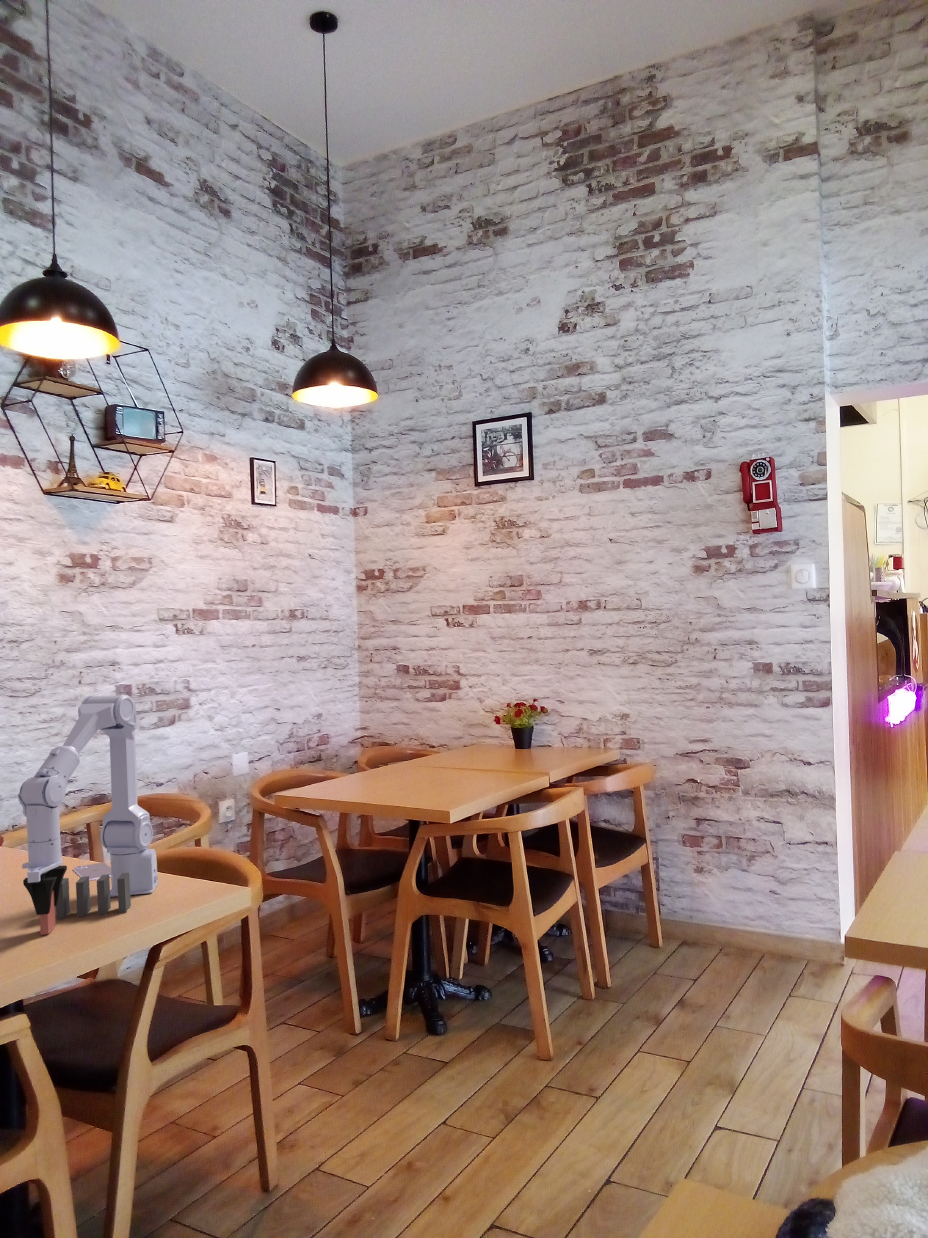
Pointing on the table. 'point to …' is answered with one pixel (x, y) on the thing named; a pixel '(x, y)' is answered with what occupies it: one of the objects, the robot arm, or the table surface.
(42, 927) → the red domino
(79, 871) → the mobile phone
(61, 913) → the domino
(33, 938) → the table surface
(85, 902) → the domino
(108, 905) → the domino
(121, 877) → the domino
